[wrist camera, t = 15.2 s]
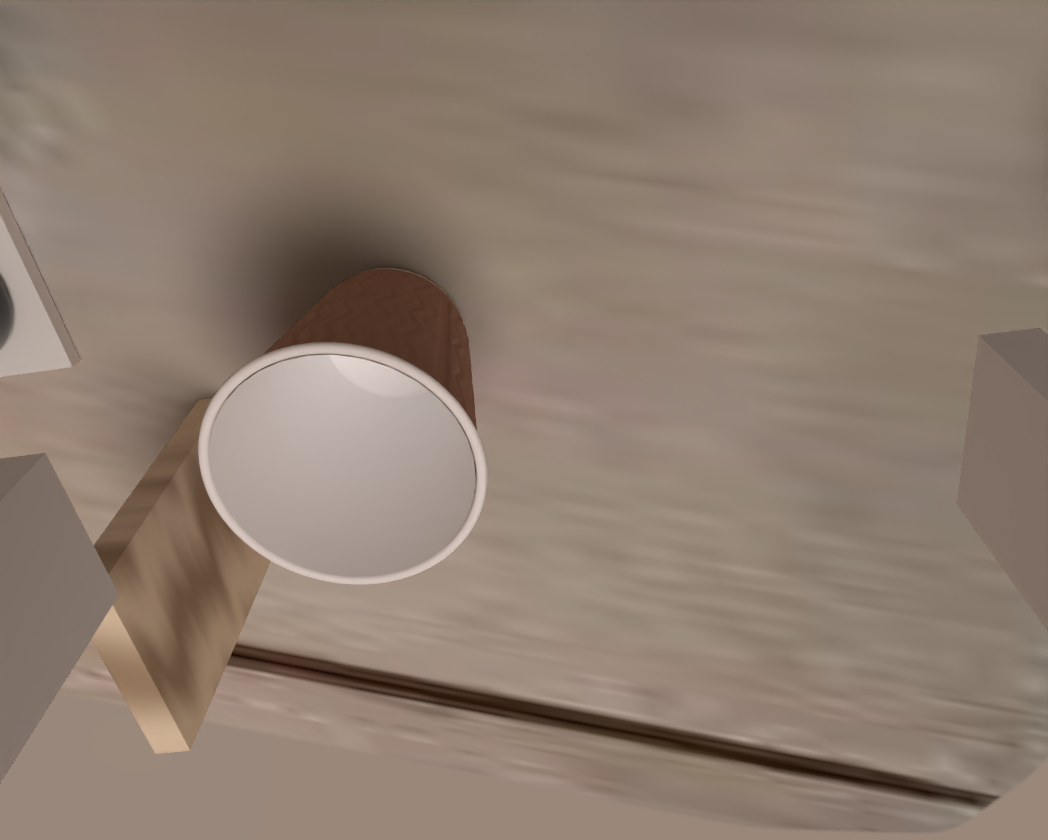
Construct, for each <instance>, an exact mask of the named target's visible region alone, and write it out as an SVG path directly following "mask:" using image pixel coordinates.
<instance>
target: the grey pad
mask: <svg viewBox="0 0 1048 840" xmlns="http://www.w3.org/2000/svg"><path fill="white" fill-rule="evenodd" d="M0 280H1V281H2V283H3V285H4V287H5V289H6V292H7V294H8V297H9V300H10V304H11V310H12V324H11V330H10V333H9V336H8V339H7V341H6V342H5V344H4V346H3V347H2V348H1V350H0V377H4V376H11V375H19V374H26V373H33V372H40V371H48V370H55V369H62V368H69V367H73V366H74V365H75V364H76V363H77V362H78V361H80V358H79V355H78V353H77V351H76V349H75V347H74V345H73V343H72V341H71V338H70V336H69V334H68V332H67V330H66V328H65V326H64V323H63V321H62V319H61V317H60V315H59V313H58V311H57V308H56V306H55V304H54V302H53V300H52V298H51V296H50V293H49V291H48V289H47V287H46V285H45V283H44V281H43V278H42V276H41V274H40V272H39V270H38V268H37V266H36V263H35V261H34V259H33V257H32V255H31V253H30V251H29V249H28V246H27V244H26V242H25V240H24V238H23V236H22V234H21V231H20V229H19V227H18V225H17V223H16V221H15V219H14V216H13V214H12V212H11V210H10V208H9V206H8V204H7V201H6V199H5V197H4V195H3V193H2V191H1V189H0Z"/></svg>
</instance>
